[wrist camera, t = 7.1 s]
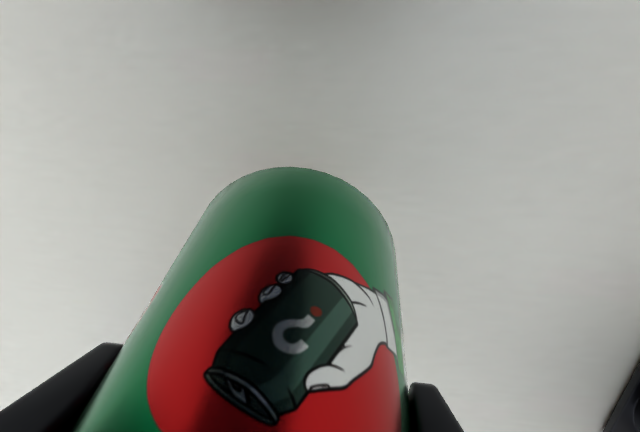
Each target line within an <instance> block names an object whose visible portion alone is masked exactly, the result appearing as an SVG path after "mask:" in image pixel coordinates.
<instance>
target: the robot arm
mask: <svg viewBox="0 0 640 432" xmlns="http://www.w3.org/2000/svg"><path fill="white" fill-rule="evenodd" d="M122 347H123V344H115V343H102V344H100V345H99V346H97V347H96V348H94V349H93V350H91V351H90V352H88V353H87V354H85V355H84V356H82V357H81V358H79V359H78V360H76V361H75V362H73V363H72V364H70V365H69V366H67V367H66V368H64V369H63V370H61V371H60V372H58V373H57V374H55V375H54V376H52V377H51V378H49V379H48V380H46V381H45V382H43V383H42V384H40V385H39V386H38V387H36V388H35V389H33V390H32V391H30V392H29V393H27V394H26V395H24V396H23V397H21V398H20V399H18V400H17V401H15V402H14V403H12V404H11V405H9V406H8V407H6V408H5V409H3V410H2V411H0V432H71V431H72V429H73V428H74V426H75V424H76V423H77V421H78V419H79V418H80V416H81V415H82V413H83V411H84V410H85V408H86V406H87V405H88V403H89V401H90V400H91V398H92V396H93V395H94V393H95V391H96V390H97V388H98V387H99V385H100V383H101V382H102V380H103V378H104V377H105V375H106V373H107V372H108V370H109V368H110V367H111V365H112V363H113V362H114V360H115V359H116V357H117V355H118V354H119V352H120V350H121V349H122ZM408 397H409V407H410V418H411V429H412V432H464V431H463V429H462V428H461V426H460V425H459V423H458V421H457V420H456V418H455V417H454V415H453V413H452V412H451V410H450V408H449V407H448V405H447V404H446V402H445V400H444V399H443V397H442V396H441V394H440V392H439V391H438V389H437V388H436V387H435V386H434V385H432V384H425V383H417V382H414V383H412V384H411V386H410V389H409V393H408ZM603 432H640V363H639V365H638V367H637V368H636V370H635V372H634V374H633V376H632V378H631V380H630V381H629V383H628V385H627V387H626V389H625V391H624V393H623V394H622V396H621V398H620V400H619V402H618V404H617V406H616V408H615V409H614V411H613V413H612V415H611V417H610V419H609V421H608V422H607V424H606V426H605V428H604V430H603Z"/></svg>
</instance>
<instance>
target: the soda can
mask: <svg viewBox="0 0 640 432" xmlns="http://www.w3.org/2000/svg"><path fill="white" fill-rule="evenodd" d="M71 432H412V429H411V418H410V407H409V397H408V386H407V375H406V364H405V353H404V343H403V332H402V321H401V310H400V299H399V289H398V278H397V267H396V256H395V248H394V243H393V238H392V235H391V232H390V230H389V227H388V225H387V223H386V221H385V220H384V218H383V216H382V215H381V213H380V211H379V210H378V209H377V208H376V207H375V205H374V204H373V203H372V202H371V201H370V200H369V199H368V198H367V197H366V196H365V195H364V194H362V193H361V192H360V191H359V190H358V189H356V188H355V187H353V186H352V185H350V184H348V183H347V182H345V181H343V180H342V179H339V178H337V177H334V176H332V175H330V174H327V173H324V172H320V171H316V170H312V169H307V168H298V167H278V168H270V169H265V170H260V171H257V172H254V173H251V174H249V175H246V176H243V177H241V178H240V179H238V180H236V181H234V182H233V183H231V184H229V185H228V186H227V187H226V188H224V189H223V190H222V191H221V192H220V193H218V195H217V196H216V197H215V198H214V199H213V200H212V202H211V203H210V204H209V205H208V207H207V209H206V210H205V212H204V214H203V215H202V217H201V219H200V220H199V222H198V224H197V225H196V227H195V228H194V230H193V232H192V233H191V235H190V237H189V238H188V240H187V242H186V243H185V245H184V247H183V248H182V250H181V252H180V253H179V255H178V256H177V258H176V260H175V261H174V263H173V265H172V266H171V268H170V270H169V271H168V273H167V275H166V276H165V278H164V280H163V281H162V283H161V284H160V286H159V288H158V289H157V291H156V293H155V294H154V296H153V298H152V299H151V301H150V303H149V304H148V306H147V308H146V309H145V311H144V312H143V314H142V316H141V317H140V319H139V321H138V322H137V324H136V326H135V327H134V329H133V331H132V332H131V334H130V335H129V337H128V339H127V340H126V342H125V344H124V345H123V347H122V349H121V350H120V352H119V354H118V355H117V357H116V359H115V360H114V362H113V363H112V365H111V367H110V368H109V370H108V372H107V373H106V375H105V377H104V378H103V380H102V382H101V383H100V385H99V387H98V388H97V390H96V391H95V393H94V395H93V396H92V398H91V400H90V401H89V403H88V405H87V406H86V408H85V410H84V411H83V413H82V415H81V416H80V418H79V419H78V421H77V423H76V424H75V426H74V428H73V429H72V431H71Z"/></svg>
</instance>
